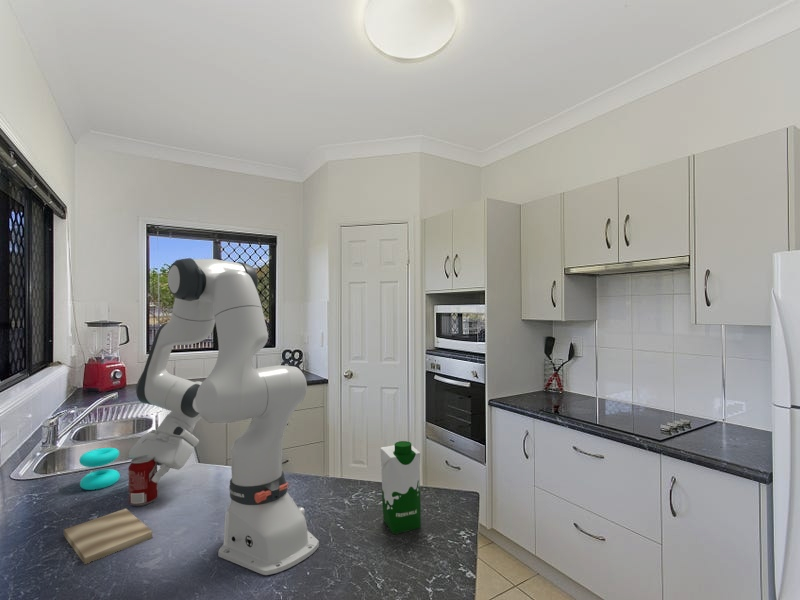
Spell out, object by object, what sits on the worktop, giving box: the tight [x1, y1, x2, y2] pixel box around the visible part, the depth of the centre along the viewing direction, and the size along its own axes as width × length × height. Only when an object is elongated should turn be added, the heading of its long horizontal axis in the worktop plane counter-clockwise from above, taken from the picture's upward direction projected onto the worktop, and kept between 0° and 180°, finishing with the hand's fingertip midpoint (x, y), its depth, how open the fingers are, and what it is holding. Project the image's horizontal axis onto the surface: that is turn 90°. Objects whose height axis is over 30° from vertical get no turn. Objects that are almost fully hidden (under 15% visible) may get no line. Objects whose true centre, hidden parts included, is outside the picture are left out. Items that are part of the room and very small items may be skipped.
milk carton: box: [379, 440, 422, 535], centre depth 103 cm, size 9×9×20 cm
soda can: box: [127, 455, 159, 507], centre depth 118 cm, size 7×7×12 cm
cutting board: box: [63, 508, 153, 565], centre depth 101 cm, size 18×13×2 cm
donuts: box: [79, 447, 121, 491], centre depth 131 cm, size 10×10×10 cm
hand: (141, 478), depth 118 cm, fingers open, 8 cm apart
